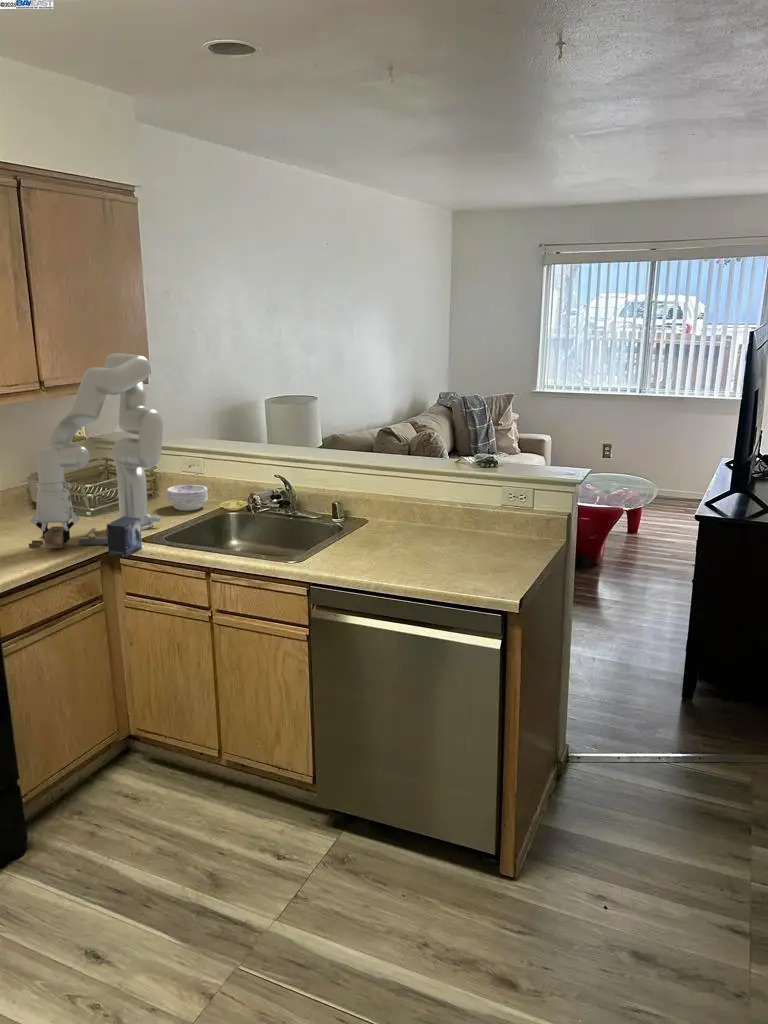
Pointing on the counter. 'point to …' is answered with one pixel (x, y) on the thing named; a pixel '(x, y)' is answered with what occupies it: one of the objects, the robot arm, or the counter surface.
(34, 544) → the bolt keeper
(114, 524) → the small box
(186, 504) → the paper bowls
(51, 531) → the cap block
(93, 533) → the bolt guide rails
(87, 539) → the bar
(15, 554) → the counter surface
